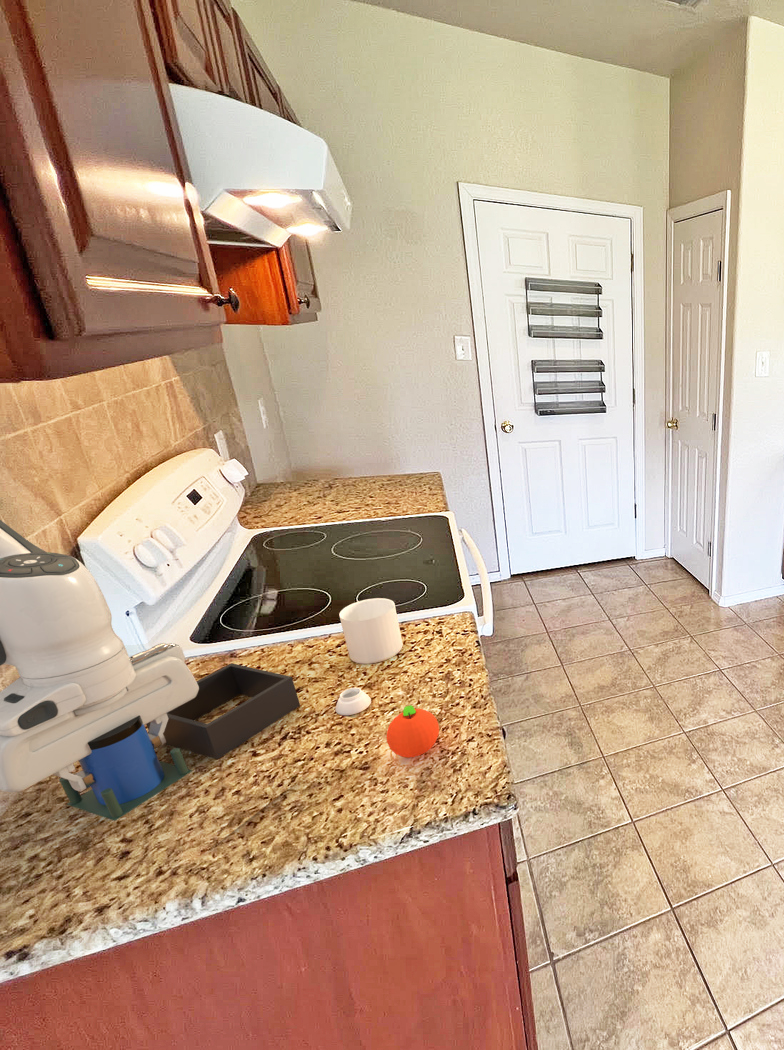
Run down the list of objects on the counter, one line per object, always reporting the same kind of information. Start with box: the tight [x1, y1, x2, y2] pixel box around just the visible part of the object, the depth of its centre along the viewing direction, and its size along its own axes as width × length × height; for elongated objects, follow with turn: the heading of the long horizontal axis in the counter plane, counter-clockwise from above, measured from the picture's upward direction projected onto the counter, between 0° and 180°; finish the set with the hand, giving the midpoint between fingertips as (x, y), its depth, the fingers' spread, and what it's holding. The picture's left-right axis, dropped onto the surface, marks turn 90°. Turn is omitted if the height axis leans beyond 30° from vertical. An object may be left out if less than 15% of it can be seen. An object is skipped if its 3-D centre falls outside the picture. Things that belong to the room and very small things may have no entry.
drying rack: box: [58, 747, 194, 822], centre depth 77 cm, size 9×9×5 cm
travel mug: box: [78, 715, 164, 805], centre depth 75 cm, size 7×7×10 cm
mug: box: [338, 597, 404, 665], centre depth 110 cm, size 12×9×9 cm
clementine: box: [386, 704, 440, 758], centre depth 85 cm, size 8×7×7 cm
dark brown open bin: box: [145, 662, 301, 760], centre depth 89 cm, size 13×13×7 cm
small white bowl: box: [334, 687, 372, 716], centre depth 95 cm, size 5×3×5 cm
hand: (122, 765), depth 76 cm, fingers closed on travel mug, 6 cm apart
